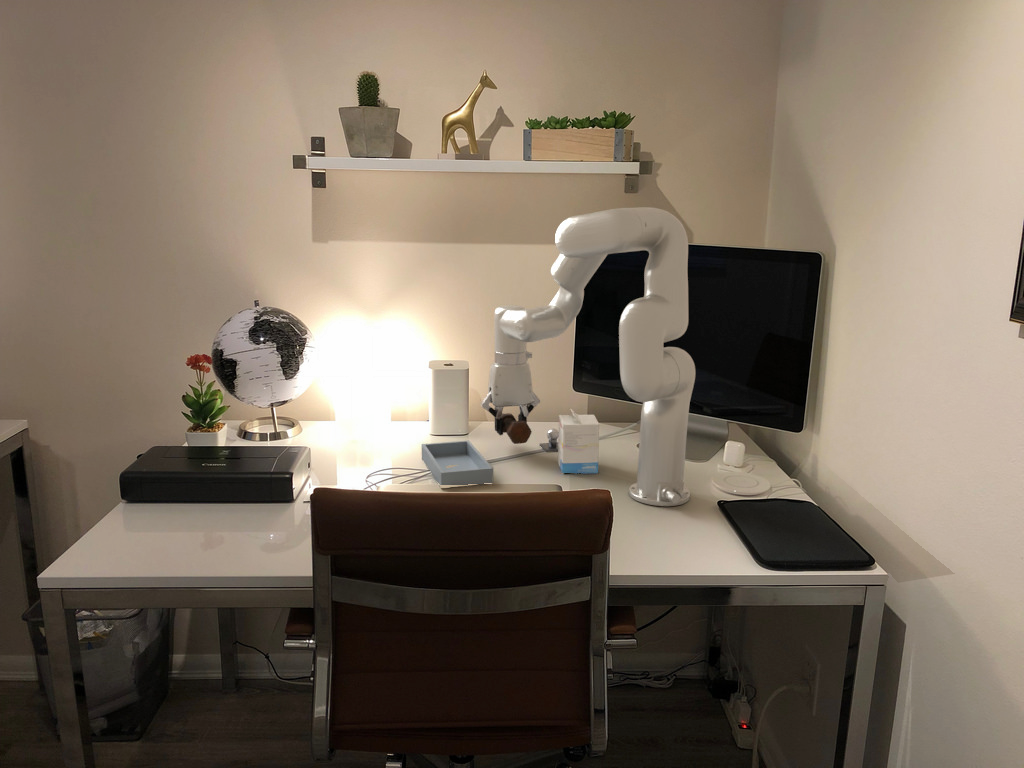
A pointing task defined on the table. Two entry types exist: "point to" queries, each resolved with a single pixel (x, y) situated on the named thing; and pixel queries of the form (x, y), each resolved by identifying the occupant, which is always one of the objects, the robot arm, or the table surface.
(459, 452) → the parts tray
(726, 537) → the table surface
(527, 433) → the bolt
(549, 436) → the ball stud
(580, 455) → the ink box
